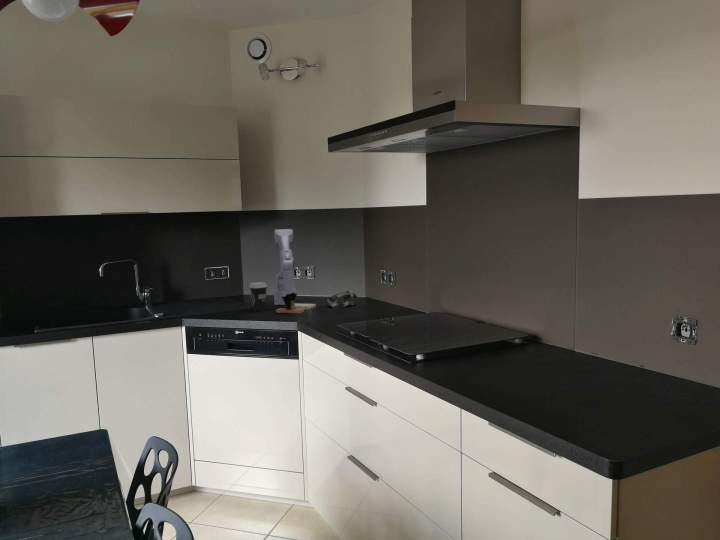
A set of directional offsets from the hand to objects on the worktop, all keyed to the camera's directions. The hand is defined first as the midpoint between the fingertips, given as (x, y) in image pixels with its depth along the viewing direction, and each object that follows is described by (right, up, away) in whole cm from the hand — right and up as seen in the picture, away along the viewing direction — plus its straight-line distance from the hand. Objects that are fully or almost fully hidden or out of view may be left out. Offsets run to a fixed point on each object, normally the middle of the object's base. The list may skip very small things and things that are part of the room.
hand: (289, 308), depth 300 cm
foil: (+27, 0, +15) cm, 30 cm away
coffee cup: (-17, -2, +8) cm, 19 cm away
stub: (0, -2, +1) cm, 2 cm away
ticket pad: (+5, -1, +14) cm, 15 cm away
